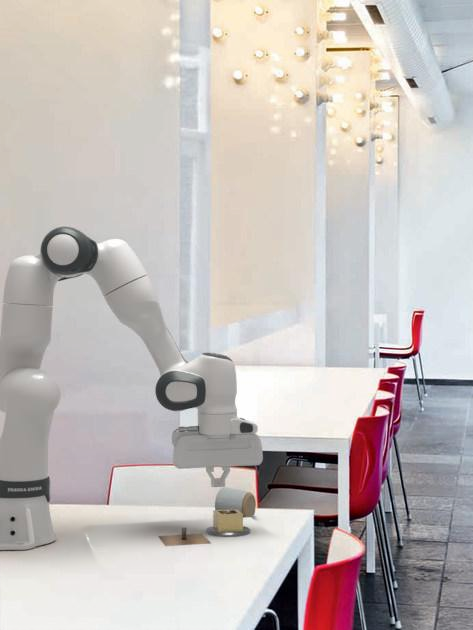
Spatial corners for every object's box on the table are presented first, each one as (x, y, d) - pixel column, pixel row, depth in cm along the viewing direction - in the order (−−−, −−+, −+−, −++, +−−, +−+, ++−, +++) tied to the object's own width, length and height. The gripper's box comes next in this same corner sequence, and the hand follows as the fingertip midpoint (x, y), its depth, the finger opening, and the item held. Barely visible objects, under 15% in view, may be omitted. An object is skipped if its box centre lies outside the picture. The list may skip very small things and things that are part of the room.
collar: (218, 533, 246) (218, 515, 246) (213, 527, 252) (213, 510, 252) (242, 531, 247) (242, 513, 247) (237, 526, 253) (237, 509, 253)
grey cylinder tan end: (244, 524, 265) (244, 492, 265) (213, 521, 269) (214, 489, 269) (263, 516, 275) (263, 485, 275) (233, 513, 279) (233, 483, 279)
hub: (211, 544, 244) (210, 516, 244) (202, 535, 253) (201, 507, 253) (255, 542, 246) (255, 513, 246) (244, 532, 256) (244, 505, 256)
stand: (165, 552, 236) (165, 534, 236) (157, 542, 246) (157, 524, 246) (211, 550, 239) (211, 531, 238) (202, 540, 248) (202, 522, 248)
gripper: (174, 428, 243) (174, 491, 244) (264, 425, 248) (265, 486, 248) (169, 425, 249) (170, 486, 250) (257, 421, 254) (258, 482, 254)
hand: (218, 486), depth 249 cm, fingers closed
